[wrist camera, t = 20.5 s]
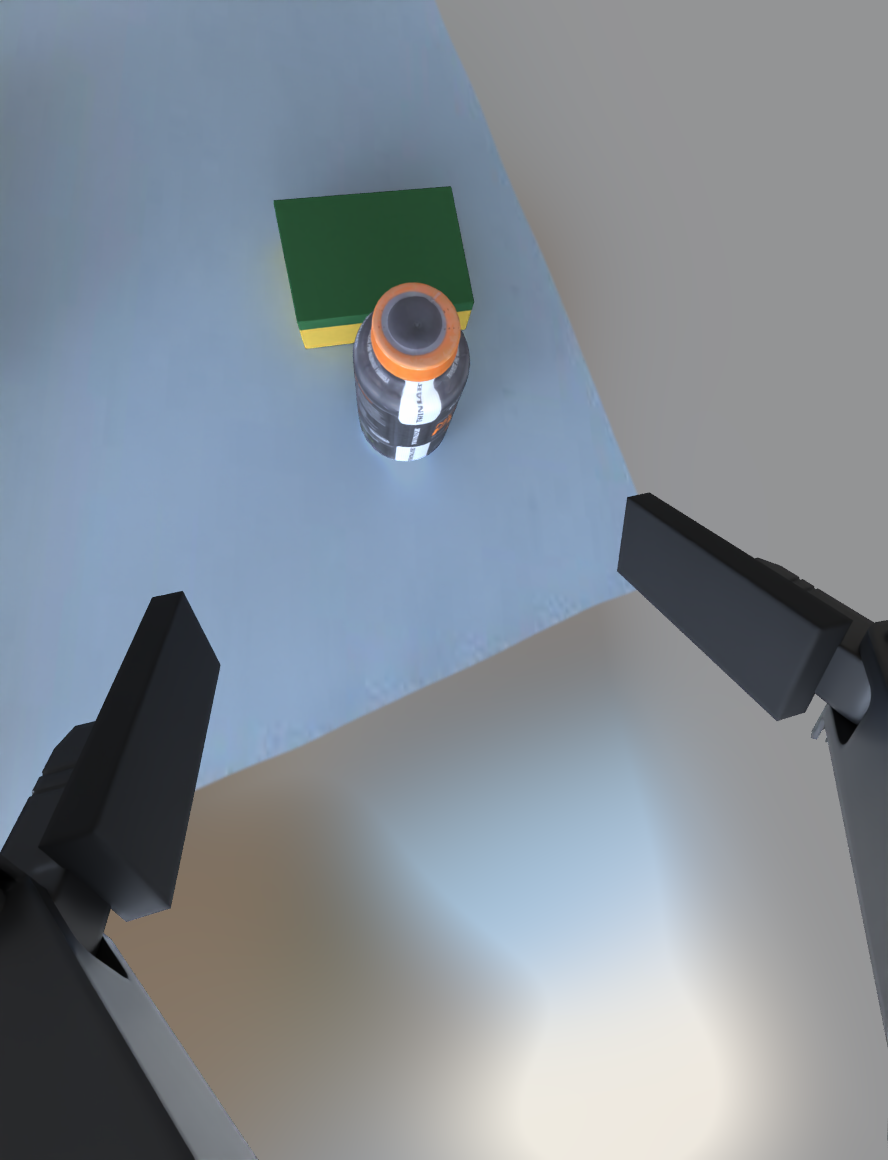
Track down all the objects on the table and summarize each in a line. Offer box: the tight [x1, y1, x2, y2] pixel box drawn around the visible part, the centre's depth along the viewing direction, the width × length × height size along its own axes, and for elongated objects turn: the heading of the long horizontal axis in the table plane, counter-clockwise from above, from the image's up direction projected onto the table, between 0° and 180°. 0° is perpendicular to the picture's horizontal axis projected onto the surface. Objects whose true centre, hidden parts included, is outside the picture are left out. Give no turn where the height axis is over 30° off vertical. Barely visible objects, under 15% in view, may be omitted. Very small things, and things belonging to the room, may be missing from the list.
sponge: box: [274, 186, 474, 349], centre depth 30 cm, size 11×8×3 cm
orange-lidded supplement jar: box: [353, 282, 470, 461], centre depth 26 cm, size 6×6×11 cm
